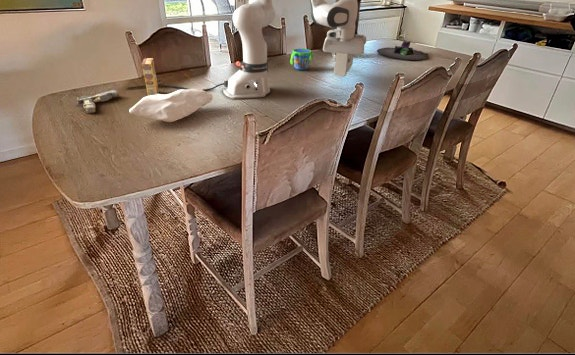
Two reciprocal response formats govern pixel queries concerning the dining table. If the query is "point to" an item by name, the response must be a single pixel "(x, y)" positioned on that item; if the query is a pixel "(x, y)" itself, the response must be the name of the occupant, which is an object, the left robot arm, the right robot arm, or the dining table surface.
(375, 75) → the dining table surface
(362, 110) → the dining table surface
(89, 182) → the dining table surface
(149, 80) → the candy box
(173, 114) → the crumpled cloth
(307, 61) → the snack cup
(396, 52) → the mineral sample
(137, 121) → the dining table surface
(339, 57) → the box
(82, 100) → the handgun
